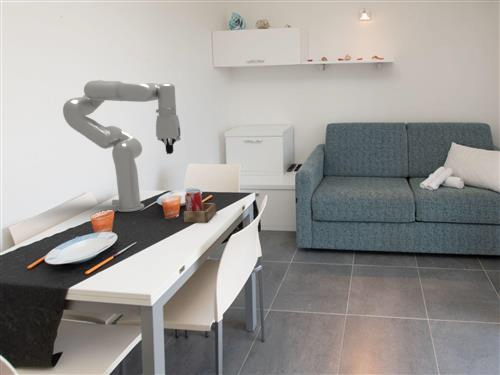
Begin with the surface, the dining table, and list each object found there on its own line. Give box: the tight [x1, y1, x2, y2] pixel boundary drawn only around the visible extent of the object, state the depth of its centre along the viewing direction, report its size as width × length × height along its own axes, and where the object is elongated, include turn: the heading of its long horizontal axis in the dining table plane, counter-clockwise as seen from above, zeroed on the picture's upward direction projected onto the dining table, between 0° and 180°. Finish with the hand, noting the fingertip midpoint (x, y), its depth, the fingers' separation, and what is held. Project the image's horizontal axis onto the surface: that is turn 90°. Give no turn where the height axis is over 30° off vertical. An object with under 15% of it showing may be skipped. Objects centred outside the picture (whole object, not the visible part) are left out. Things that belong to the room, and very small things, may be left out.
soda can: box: [184, 189, 203, 211], centre depth 213 cm, size 7×7×12 cm
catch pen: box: [183, 202, 217, 224], centre depth 216 cm, size 10×14×4 cm
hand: (169, 153), depth 226 cm, fingers closed
